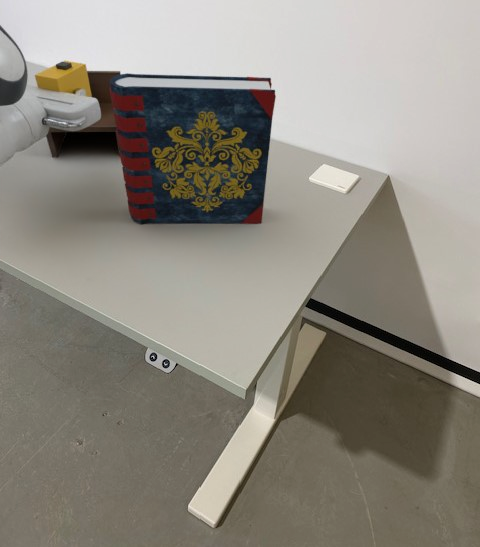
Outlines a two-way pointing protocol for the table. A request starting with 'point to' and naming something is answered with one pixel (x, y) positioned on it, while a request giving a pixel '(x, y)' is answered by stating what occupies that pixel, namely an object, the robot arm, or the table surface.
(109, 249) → the table surface
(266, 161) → the book
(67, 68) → the tape measure
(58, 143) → the shelf
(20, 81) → the robot arm
